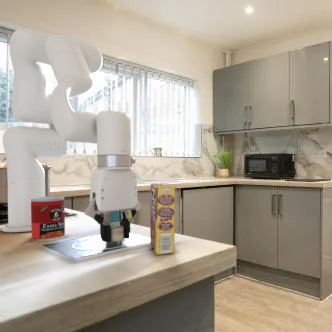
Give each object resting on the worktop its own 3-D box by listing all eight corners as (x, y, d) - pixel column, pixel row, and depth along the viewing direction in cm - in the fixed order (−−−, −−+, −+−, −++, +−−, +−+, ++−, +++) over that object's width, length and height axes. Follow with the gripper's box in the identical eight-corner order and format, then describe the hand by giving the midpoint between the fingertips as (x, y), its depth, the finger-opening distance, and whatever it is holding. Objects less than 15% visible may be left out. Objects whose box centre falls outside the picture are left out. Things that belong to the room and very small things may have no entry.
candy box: (176, 253, 72) (175, 184, 72) (156, 255, 71) (155, 185, 70) (168, 244, 80) (167, 182, 80) (149, 246, 79) (149, 183, 78)
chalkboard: (41, 248, 78) (41, 244, 78) (120, 233, 93) (120, 230, 93) (74, 262, 66) (74, 258, 66) (158, 243, 82) (158, 239, 82)
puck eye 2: (103, 239, 78) (102, 227, 78) (118, 236, 81) (118, 224, 81) (111, 242, 76) (111, 229, 75) (127, 239, 79) (127, 226, 79)
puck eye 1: (107, 234, 89) (107, 223, 89) (121, 231, 92) (121, 221, 92) (115, 236, 86) (115, 224, 86) (129, 233, 89) (129, 222, 89)
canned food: (40, 243, 82) (40, 199, 82) (25, 239, 87) (24, 198, 86) (71, 237, 89) (70, 196, 89) (55, 234, 93) (54, 195, 93)
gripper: (137, 163, 87) (138, 231, 87) (70, 163, 74) (72, 244, 74) (153, 162, 82) (154, 235, 82) (86, 163, 69) (87, 249, 69)
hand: (115, 238), depth 78 cm, fingers closed on puck eye 2, 4 cm apart
